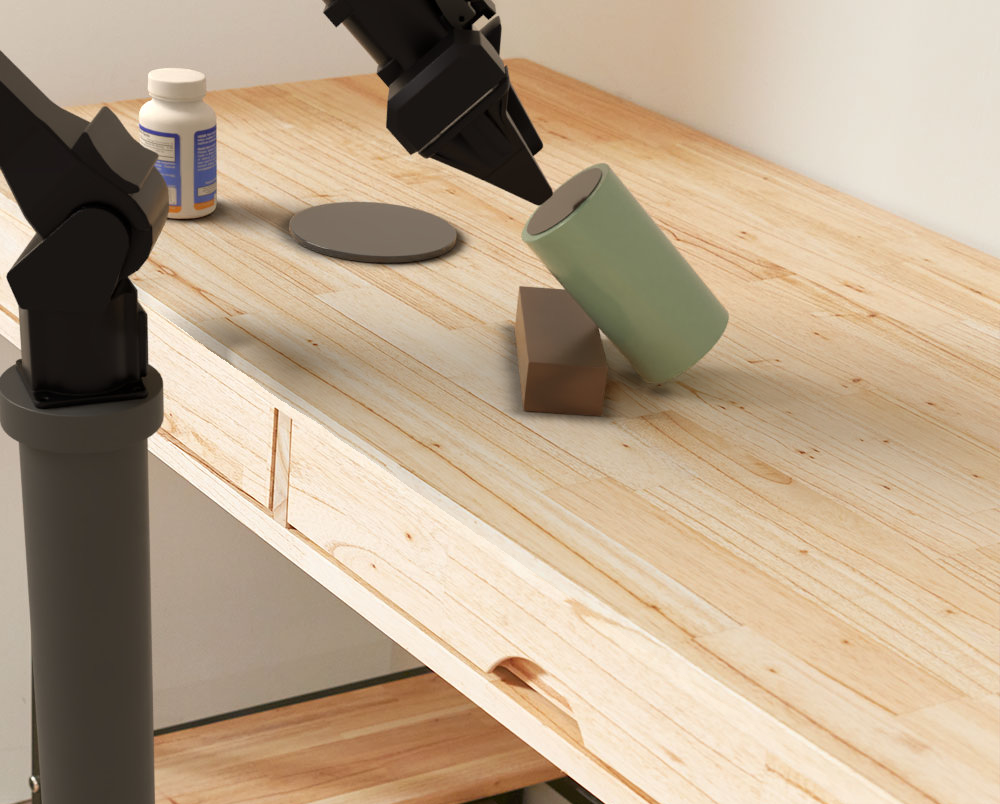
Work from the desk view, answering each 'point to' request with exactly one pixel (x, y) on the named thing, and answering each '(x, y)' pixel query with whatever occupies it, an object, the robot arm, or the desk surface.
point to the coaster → (372, 232)
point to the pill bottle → (182, 139)
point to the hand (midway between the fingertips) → (541, 174)
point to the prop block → (558, 354)
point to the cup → (626, 274)
